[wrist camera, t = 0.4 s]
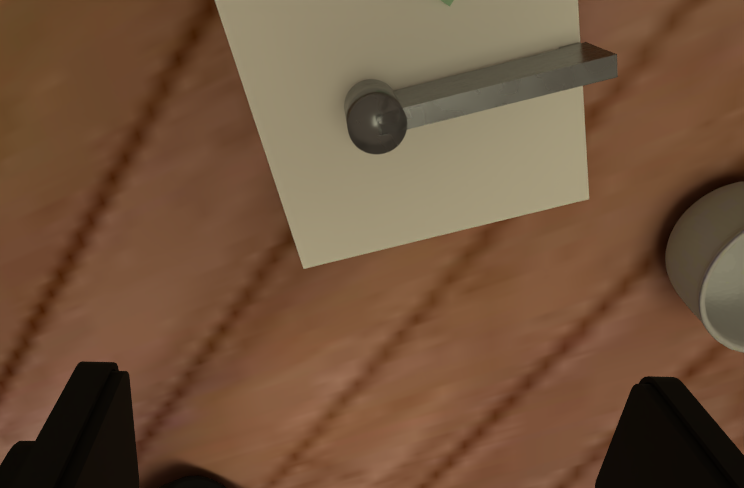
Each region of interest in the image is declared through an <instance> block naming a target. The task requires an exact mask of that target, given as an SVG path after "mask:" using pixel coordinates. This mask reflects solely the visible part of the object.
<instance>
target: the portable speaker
mask: <svg viewBox="0 0 744 488" xmlns="http://www.w3.org/2000/svg"><path fill="white" fill-rule="evenodd" d="M159 488H226V487H225V486H224V485H222V484H221V483H219V482H217V481H215V480H213V479H210V478H207V477H202V476H187V477H183V478H180V479H178V480H175V481H173V482H170V483H168V484H166V485H163V486H161V487H159Z"/></svg>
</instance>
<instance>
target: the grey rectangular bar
mask: <svg viewBox="0 0 744 488" xmlns="http://www.w3.org/2000/svg"><path fill="white" fill-rule="evenodd" d="M615 77H617V54H615V53H612V52H610V51H607V50H604V49H602V48H599V47H597V46H594V45H592V44H589V43H587V42H584V43H580V44H576V45H572V46H568V47H564V48H560V49H556V50H552V51H548V52H545V53H541V54H537V55H533V56H529V57H525V58H521V59H517V60H513V61H509V62H505V63H501V64H497V65H493V66H489V67H485V68H481V69H477V70H473V71H469V72H465V73H461V74H457V75H453V76H449V77H445V78H441V79H437V80H433V81H429V82H425V83H421V84H417V85H414V86H410V87H406V88H402V89H398V90H394V91H393V90H392V88H391V87H390V86H389V85H387V84H386V83H384V82H382V81H380V80H376V79H368V80H363V81H361V82H359V83H357V84H355V85H354V86H353V87H352V88H351V89H350V90H349V92H348V93H347V95H346V98H345V102H344V111H345V117H346V122H347V128H348V133H349V136H350V139H351V140H352V142H353V143H354V145H355V146H356V147H357V148H359V149H360V150H362V151H364V152H366V153H369V154H384V153H387V152H390V151H392V150H393V149H395V148H396V147H397V146H398V145H399V144H400V143H401V142H402V140H403V139H404V137H405V134H406V131H407V129H411V128H415V127H419V126H423V125H427V124H431V123H435V122H439V121H443V120H447V119H451V118H455V117H459V116H463V115H467V114H471V113H475V112H479V111H483V110H487V109H491V108H495V107H499V106H503V105H507V104H511V103H515V102H519V101H523V100H527V99H531V98H535V97H539V96H543V95H547V94H551V93H555V92H559V91H563V90H567V89H571V88H575V87H579V86H583V85H587V84H591V83H595V82H599V81H603V80H607V79H611V78H615Z"/></svg>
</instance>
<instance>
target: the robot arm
mask: <svg viewBox="0 0 744 488" xmlns="http://www.w3.org/2000/svg"><path fill="white" fill-rule="evenodd" d="M0 488H139V474H138V463H137V452H136V442H135V431H134V421H133V410H132V400H131V389H130V379H129V374H128V372H127V371H119V370H118V366H117V364H116V363H114V362H80V363H79V364H78V365H77V366H76V368H75V370H74V372H73V373H72V375H71V377H70V379H69V381H68V382H67V384H66V386H65V388H64V390H63V392H62V393H61V395H60V397H59V399H58V401H57V402H56V404H55V406H54V408H53V410H52V411H51V413H50V415H49V417H48V419H47V421H46V422H45V424H44V426H43V428H42V430H41V431H40V433H39V435H38V437H37V439H36V441H19V442H17V443H16V444H14V445H13V447H12V448H11V449H10V451H9V452H8V453H7V455H6V457H5V458H4V460H3V462H2V463H1V465H0ZM595 488H744V455H743V454H742V453H741V451H740V450H739V449H738V448H737V447H736V446H735V444H734V443H733V442H732V441H731V440H730V438H729V437H728V436H727V435H726V434H725V432H724V431H723V430H722V429H721V428H720V427H719V425H718V424H717V423H716V422H715V421H714V419H713V418H712V417H711V416H710V415H709V414H708V412H707V411H706V410H705V409H704V408H703V406H702V405H701V404H700V403H699V402H698V401H697V399H696V398H695V397H694V396H693V395H692V393H691V392H690V391H689V390H688V389H687V387H686V386H685V385H684V384H683V383H682V382H681V381H680V380H679V379H677V378H675V377H649V376H648V377H644V378H643V379H641V381H640V382H639V384H635V385H634V386H633V387H632V389H631V391H630V394H629V397H628V399H627V402H626V404H625V407H624V410H623V412H622V415H621V417H620V420H619V423H618V425H617V428H616V430H615V433H614V435H613V438H612V441H611V443H610V446H609V448H608V451H607V454H606V456H605V459H604V461H603V464H602V466H601V469H600V472H599V474H598V477H597V479H596V483H595Z"/></svg>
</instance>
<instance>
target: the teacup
mask: <svg viewBox="0 0 744 488" xmlns="http://www.w3.org/2000/svg"><path fill="white" fill-rule="evenodd" d="M665 261H666V269H667V273H668V277H669V279H670V281H671V284H672V286H673V287H674V289H675V291H676V292H677V294H678V295H679V296H680V298H681V299H682V300H683V301H684V303H685V304H686V305H687V306H688V307H689V308H690V310H691V311H692V312H693V313H694V314H695V315H696V316H697V317H698V319H699V320H700V321H701V322H702V323H703V325H704V326H705V328H706V329H707V331H708V332H709V333H710V334H711V335H712V337H713V338H714V339H716V340H717V341H718V342H720V343H721V344H723V345H724V346H726V347H728V348H730V349H732V350H736V351H739V352H744V181H742V182H736V183H732V184H729V185H726V186H723V187H720V188H718V189H716V190H714V191H712V192H710V193H708V194H706V195H705V196H703V197H702V198H700V199H699V200H698V201H696V202H695V203H694V204H693V205H692V206H690V207H689V208H688V209H687V210H686V211H685V212H684V214H683V215H682V216H681V217H680V219H679V220H678V221H677V223H676V224H675V226H674V228H673V230H672V232H671V234H670V237H669V240H668V243H667V247H666V253H665Z"/></svg>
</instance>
